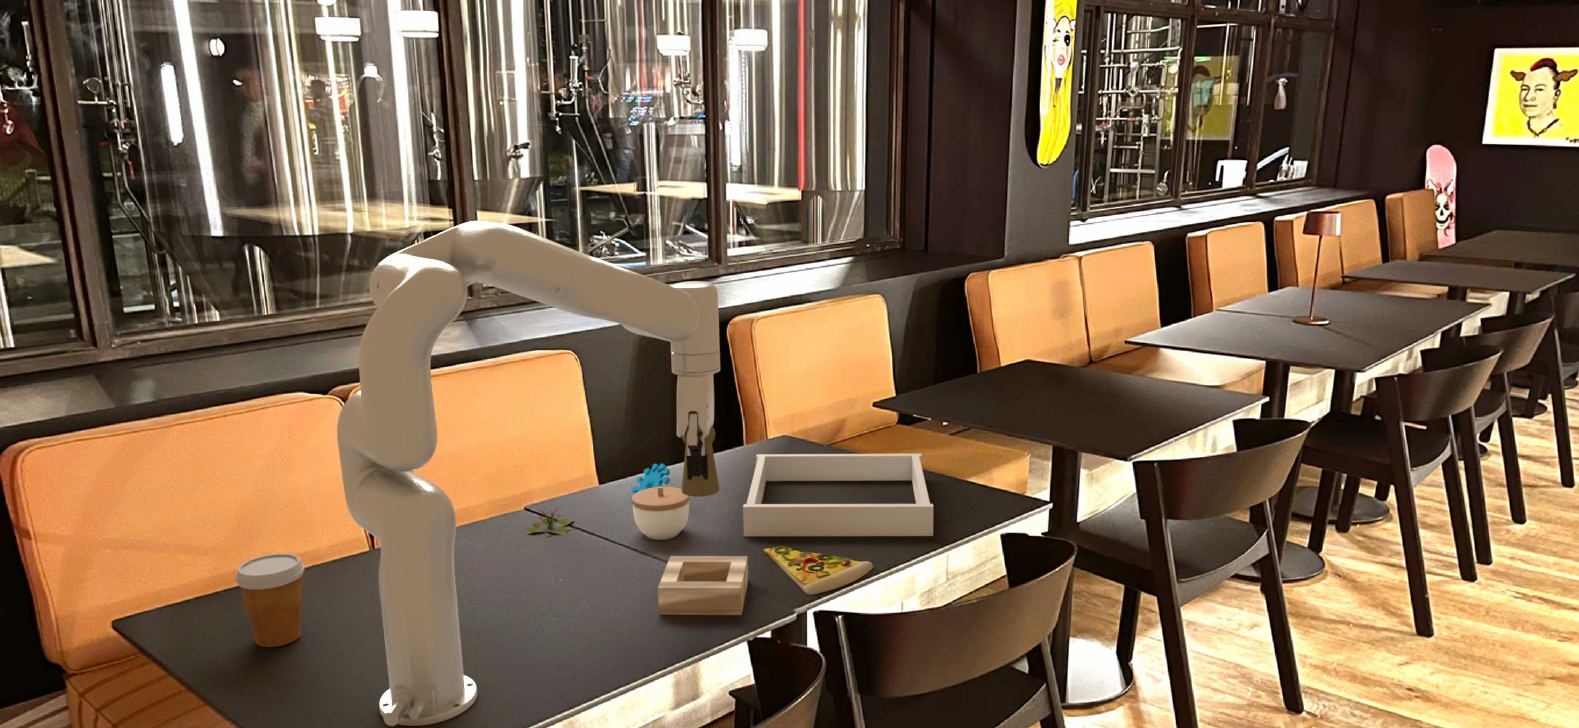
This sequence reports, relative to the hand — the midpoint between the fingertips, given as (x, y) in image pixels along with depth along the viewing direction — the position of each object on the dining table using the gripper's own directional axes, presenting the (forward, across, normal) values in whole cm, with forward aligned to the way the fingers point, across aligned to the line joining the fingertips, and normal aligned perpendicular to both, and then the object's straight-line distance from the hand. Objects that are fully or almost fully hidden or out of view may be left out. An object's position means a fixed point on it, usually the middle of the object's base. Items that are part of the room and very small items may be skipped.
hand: (699, 473), depth 175 cm
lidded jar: (+21, -28, -11) cm, 37 cm away
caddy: (+21, 0, 0) cm, 21 cm away
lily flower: (+22, -31, -34) cm, 51 cm away
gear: (+22, -44, -18) cm, 52 cm away
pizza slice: (+22, -13, +16) cm, 30 cm away
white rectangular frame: (+21, -43, +22) cm, 53 cm away
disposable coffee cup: (+21, +15, -63) cm, 68 cm away
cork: (+3, 0, 0) cm, 3 cm away
